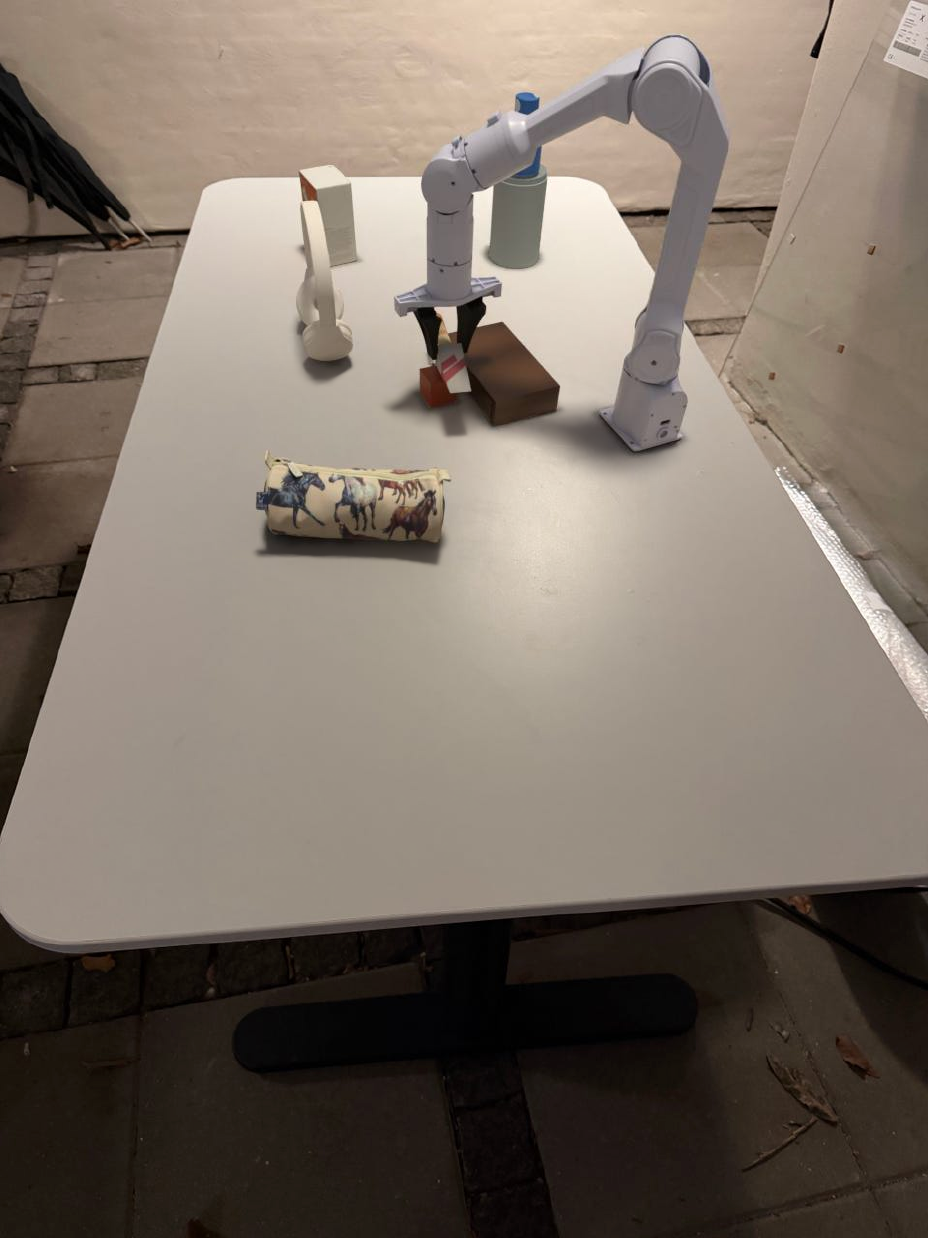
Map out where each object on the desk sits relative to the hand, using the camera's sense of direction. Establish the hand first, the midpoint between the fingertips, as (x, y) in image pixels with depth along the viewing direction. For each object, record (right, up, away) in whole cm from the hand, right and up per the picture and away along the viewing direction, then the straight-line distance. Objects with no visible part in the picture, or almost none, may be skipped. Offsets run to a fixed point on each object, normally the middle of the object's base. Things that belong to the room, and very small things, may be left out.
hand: (447, 352), depth 107 cm
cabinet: (+7, -2, +6) cm, 10 cm away
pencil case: (-10, -26, -14) cm, 31 cm away
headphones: (-19, +5, +12) cm, 23 cm away
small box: (-21, +27, +30) cm, 46 cm away
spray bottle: (+11, +28, +31) cm, 44 cm away
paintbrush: (0, -1, +1) cm, 2 cm away
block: (0, -3, +3) cm, 4 cm away
